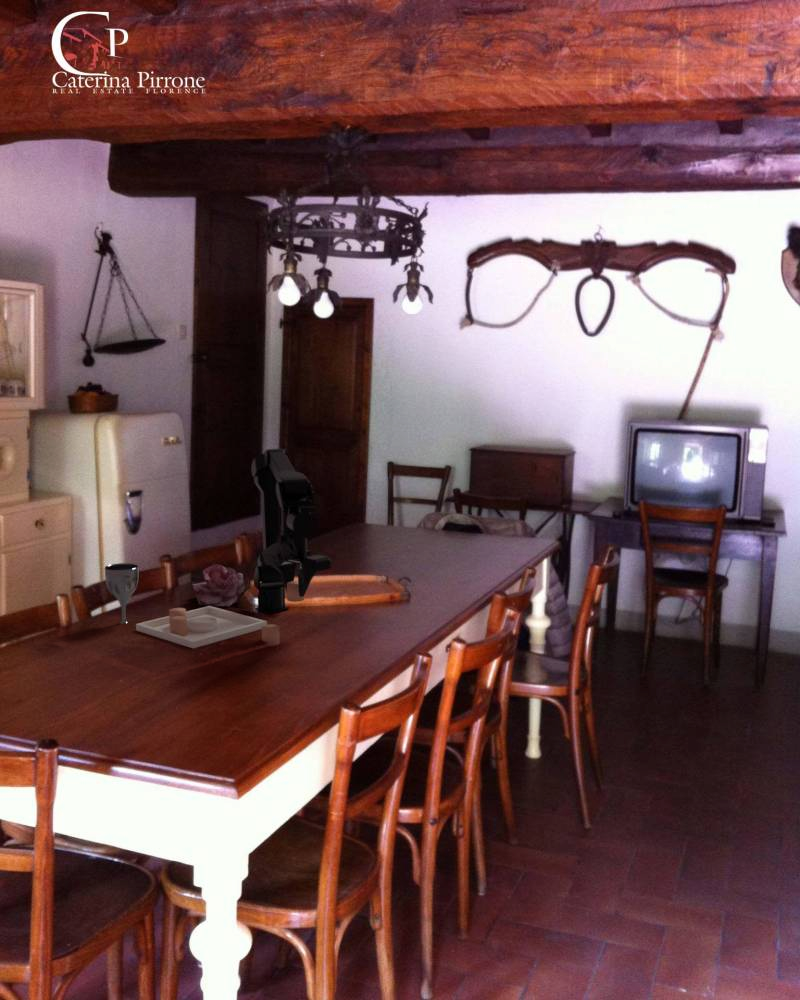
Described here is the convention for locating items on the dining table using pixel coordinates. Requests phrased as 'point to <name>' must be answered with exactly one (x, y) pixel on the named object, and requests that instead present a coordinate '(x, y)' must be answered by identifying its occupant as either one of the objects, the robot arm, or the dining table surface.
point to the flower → (220, 586)
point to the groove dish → (204, 626)
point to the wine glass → (122, 582)
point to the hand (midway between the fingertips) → (295, 595)
